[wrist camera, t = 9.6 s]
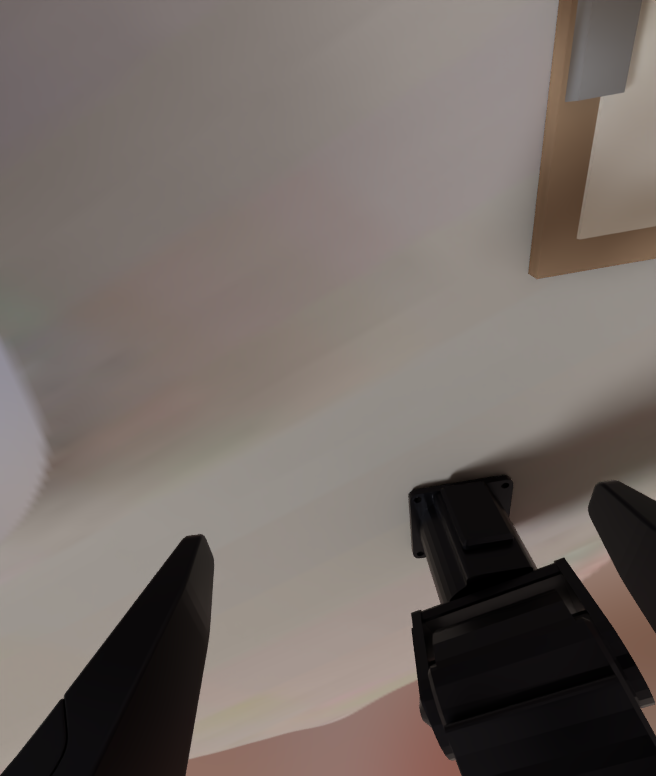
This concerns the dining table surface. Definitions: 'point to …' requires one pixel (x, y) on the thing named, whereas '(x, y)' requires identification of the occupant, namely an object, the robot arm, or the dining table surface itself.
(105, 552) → the dining table surface
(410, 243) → the dining table surface
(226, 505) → the dining table surface
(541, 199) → the clipboard
